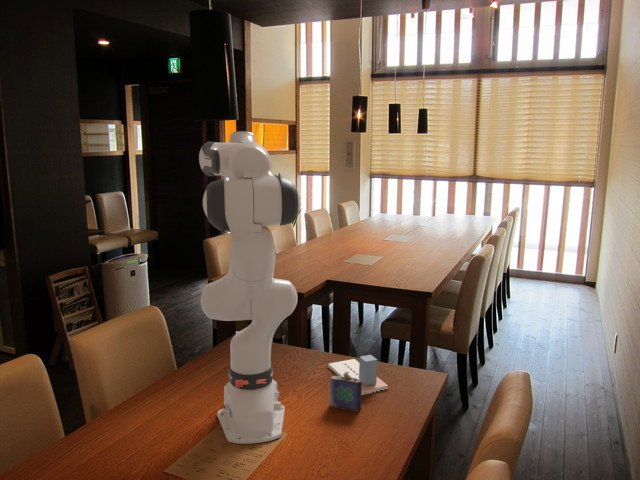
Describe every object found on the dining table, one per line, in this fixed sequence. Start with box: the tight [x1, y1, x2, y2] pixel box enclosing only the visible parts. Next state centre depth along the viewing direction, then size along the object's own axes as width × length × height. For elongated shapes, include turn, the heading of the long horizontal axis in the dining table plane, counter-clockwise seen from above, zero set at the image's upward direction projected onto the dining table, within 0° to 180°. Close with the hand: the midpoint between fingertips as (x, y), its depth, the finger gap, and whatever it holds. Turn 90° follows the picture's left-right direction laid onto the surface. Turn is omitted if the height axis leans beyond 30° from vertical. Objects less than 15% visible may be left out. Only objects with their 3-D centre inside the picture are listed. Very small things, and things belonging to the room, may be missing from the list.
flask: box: [329, 372, 362, 412], centre depth 154 cm, size 9×3×11 cm, turn 73°
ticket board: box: [327, 358, 389, 396], centre depth 173 cm, size 22×10×1 cm, turn 25°
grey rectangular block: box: [358, 354, 378, 386], centre depth 166 cm, size 4×4×8 cm
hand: (243, 227), depth 171 cm, fingers open, 8 cm apart
